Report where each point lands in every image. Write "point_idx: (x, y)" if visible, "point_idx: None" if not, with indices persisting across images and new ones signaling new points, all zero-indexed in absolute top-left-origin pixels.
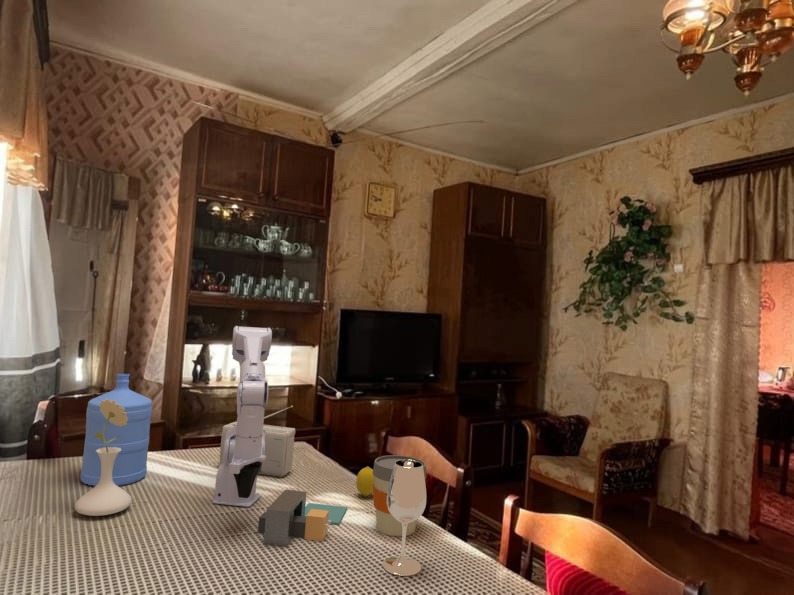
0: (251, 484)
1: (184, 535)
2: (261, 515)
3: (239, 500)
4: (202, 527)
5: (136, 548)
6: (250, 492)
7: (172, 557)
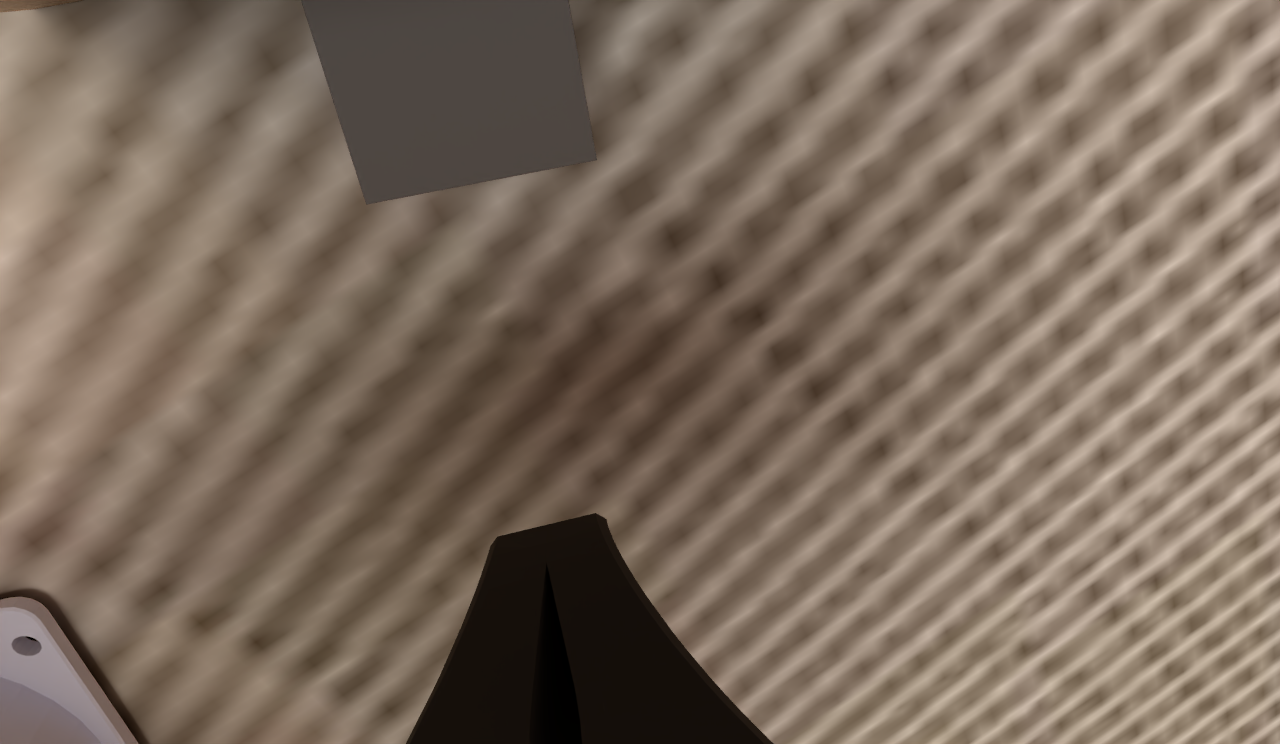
0: (603, 675)
1: (875, 631)
2: (509, 169)
3: (49, 738)
4: (695, 626)
5: (1124, 712)
6: (527, 565)
7: (1228, 469)
